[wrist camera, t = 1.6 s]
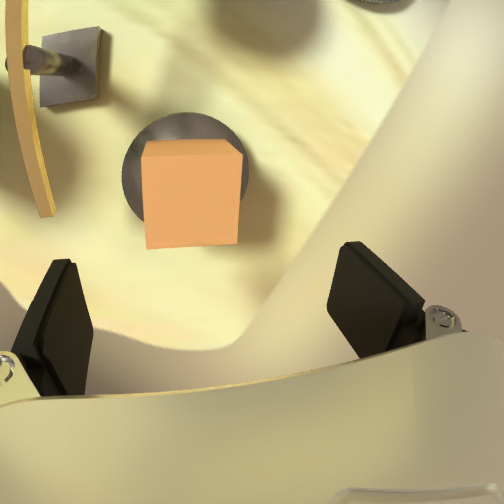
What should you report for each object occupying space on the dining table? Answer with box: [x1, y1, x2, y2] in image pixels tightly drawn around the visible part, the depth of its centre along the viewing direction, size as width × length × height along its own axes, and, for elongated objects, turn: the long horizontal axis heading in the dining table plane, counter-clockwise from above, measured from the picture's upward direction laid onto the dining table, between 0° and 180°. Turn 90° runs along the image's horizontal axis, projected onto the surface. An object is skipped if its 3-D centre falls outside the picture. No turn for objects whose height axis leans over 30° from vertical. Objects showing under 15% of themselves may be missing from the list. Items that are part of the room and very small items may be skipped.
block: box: [141, 139, 243, 249], centre depth 18 cm, size 5×5×5 cm
